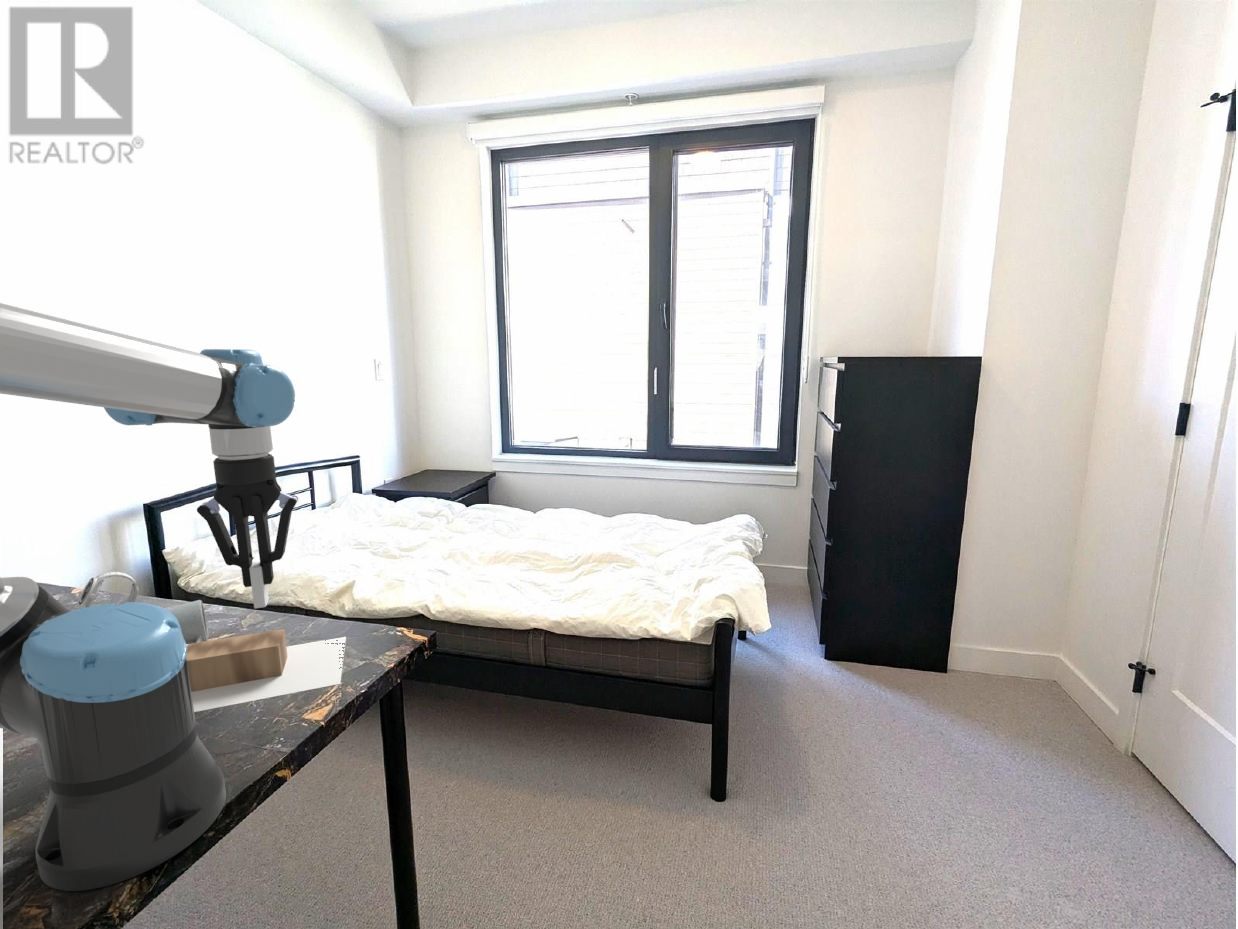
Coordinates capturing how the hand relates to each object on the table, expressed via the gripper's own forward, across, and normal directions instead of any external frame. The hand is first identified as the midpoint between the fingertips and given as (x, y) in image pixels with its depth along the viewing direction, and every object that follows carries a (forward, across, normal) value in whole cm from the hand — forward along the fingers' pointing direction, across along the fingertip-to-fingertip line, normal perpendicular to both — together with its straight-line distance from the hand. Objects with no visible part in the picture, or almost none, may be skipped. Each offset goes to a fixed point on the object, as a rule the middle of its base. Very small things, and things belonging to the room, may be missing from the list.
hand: (261, 604), depth 88 cm
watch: (+12, +28, -26) cm, 40 cm away
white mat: (+11, 0, +1) cm, 11 cm away
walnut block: (+9, -2, 0) cm, 9 cm away
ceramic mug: (+12, +15, -13) cm, 23 cm away
